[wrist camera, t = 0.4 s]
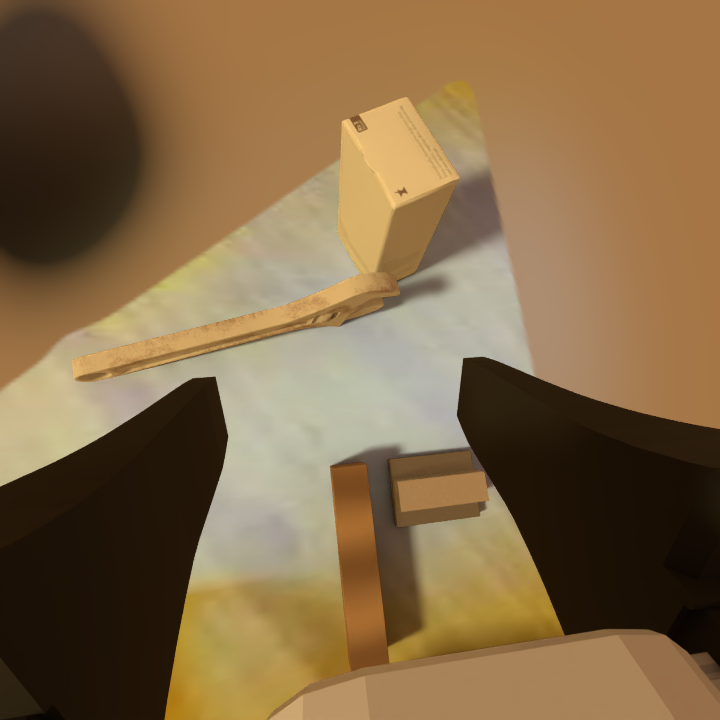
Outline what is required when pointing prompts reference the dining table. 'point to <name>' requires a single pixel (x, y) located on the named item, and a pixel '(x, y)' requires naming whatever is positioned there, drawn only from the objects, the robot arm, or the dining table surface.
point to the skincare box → (391, 188)
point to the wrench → (244, 328)
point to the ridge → (435, 488)
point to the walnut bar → (358, 567)
